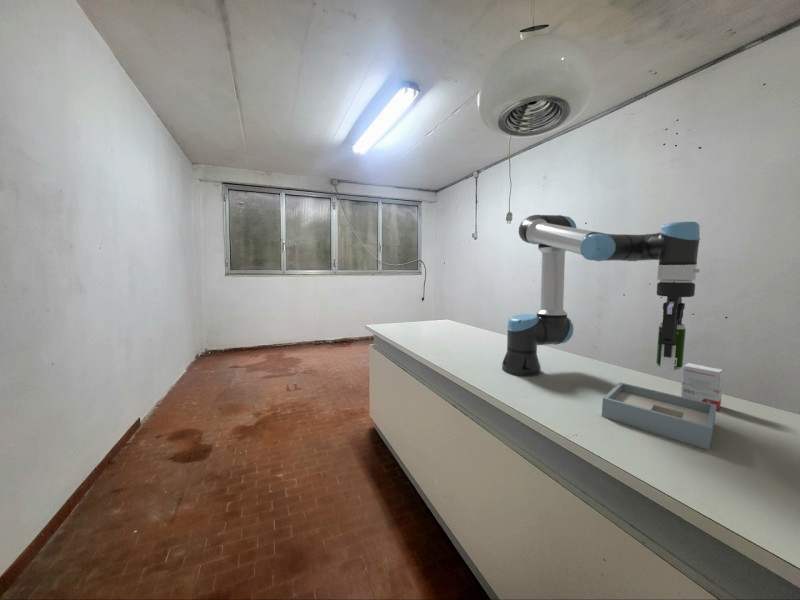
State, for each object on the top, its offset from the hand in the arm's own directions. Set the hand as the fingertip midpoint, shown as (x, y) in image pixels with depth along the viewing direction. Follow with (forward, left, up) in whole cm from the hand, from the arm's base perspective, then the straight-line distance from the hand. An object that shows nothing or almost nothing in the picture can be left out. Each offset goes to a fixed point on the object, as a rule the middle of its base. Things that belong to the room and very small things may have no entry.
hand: (668, 365), depth 82 cm
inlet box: (-2, 0, -16) cm, 16 cm away
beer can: (0, 0, 0) cm, 0 cm away
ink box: (+5, +24, -17) cm, 30 cm away
